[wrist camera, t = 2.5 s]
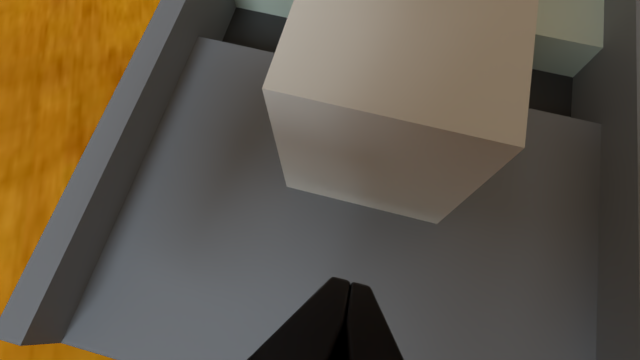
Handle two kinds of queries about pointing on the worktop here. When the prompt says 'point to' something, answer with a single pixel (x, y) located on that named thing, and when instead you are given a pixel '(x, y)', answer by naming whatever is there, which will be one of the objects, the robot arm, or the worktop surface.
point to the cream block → (401, 98)
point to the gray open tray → (340, 211)
